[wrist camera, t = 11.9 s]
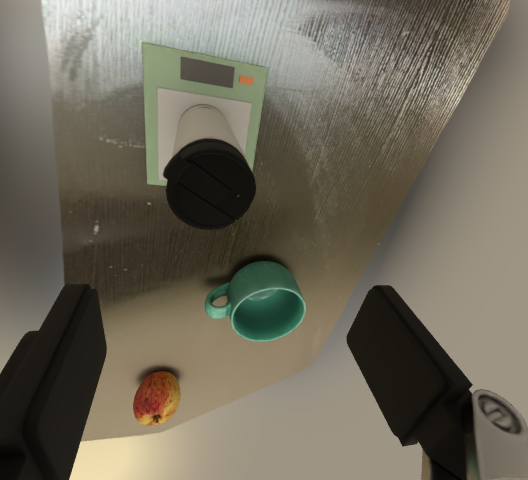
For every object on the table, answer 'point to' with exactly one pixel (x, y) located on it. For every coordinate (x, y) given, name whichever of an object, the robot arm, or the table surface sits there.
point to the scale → (197, 99)
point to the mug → (260, 302)
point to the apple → (156, 398)
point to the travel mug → (208, 171)
